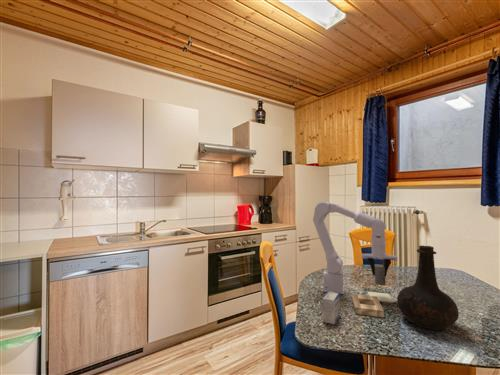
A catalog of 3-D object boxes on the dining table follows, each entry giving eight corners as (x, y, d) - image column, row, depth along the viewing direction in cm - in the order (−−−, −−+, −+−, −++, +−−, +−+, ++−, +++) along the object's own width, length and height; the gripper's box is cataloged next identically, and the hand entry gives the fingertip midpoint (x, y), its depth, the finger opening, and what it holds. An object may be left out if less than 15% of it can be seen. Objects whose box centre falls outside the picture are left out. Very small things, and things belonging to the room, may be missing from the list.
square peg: (375, 284, 111) (374, 266, 111) (373, 281, 115) (373, 264, 115) (385, 285, 110) (384, 267, 110) (383, 282, 114) (383, 264, 114)
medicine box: (334, 325, 89) (334, 300, 89) (322, 321, 91) (322, 298, 91) (339, 316, 95) (339, 293, 96) (327, 313, 98) (327, 291, 98)
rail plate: (355, 313, 97) (355, 307, 97) (352, 299, 110) (352, 293, 111) (383, 317, 94) (383, 310, 94) (377, 302, 107) (377, 296, 107)
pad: (370, 300, 110) (370, 299, 110) (367, 292, 118) (367, 291, 118) (393, 303, 107) (393, 301, 107) (388, 295, 115) (388, 293, 115)
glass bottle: (387, 312, 98) (386, 241, 99) (430, 311, 99) (428, 241, 100) (422, 338, 80) (419, 251, 81) (473, 336, 81) (470, 250, 82)
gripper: (362, 246, 112) (362, 276, 111) (398, 248, 107) (399, 279, 107) (360, 243, 118) (361, 271, 118) (394, 245, 114) (395, 274, 113)
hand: (379, 275), depth 113 cm, fingers closed on square peg, 4 cm apart
